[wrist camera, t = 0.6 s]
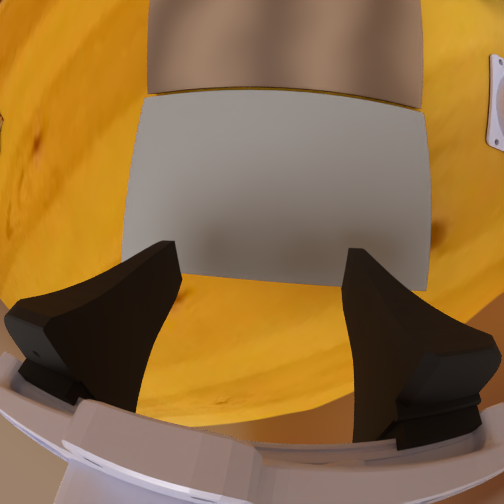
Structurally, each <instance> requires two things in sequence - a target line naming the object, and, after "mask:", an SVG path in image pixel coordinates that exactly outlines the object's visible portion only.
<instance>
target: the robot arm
mask: <svg viewBox="0 0 504 504" xmlns="http://www.w3.org/2000/svg"><path fill="white" fill-rule="evenodd" d="M499 61H500V63H499ZM490 75H491V79H490V107H489V119H488V129H487V137H486V141H487V144H488V145H489V146H492V147H494V148H497V149H499V150H501V151H504V59H503V58H501V57H500V56H498V55H496V54H491V55H490ZM495 140H496V144H495ZM181 282H182V276H181V271H180V266H179V261H178V256H177V250H176V245H175V241H167V240H162V241H159V242H157V243H155V244H153V245H151V246H149V247H148V248H146V249H144V250H142V251H141V252H139V253H137V254H136V255H134V256H132V257H131V258H129V259H127V260H125V261H124V262H122V263H120V264H118V265H116V266H115V267H113V268H111V269H109V270H107V271H106V272H104V273H102V274H100V275H97V276H95V277H93V278H91V279H89V280H86V281H84V282H81V283H79V284H76V285H74V286H71V287H68V288H65V289H62V290H59V291H56V292H52V293H49V294H45V295H41V296H36V297H31V298H25V299H20V300H19V301H18V302H16V304H15V305H14V306H13V307H12V308H11V309H10V310H9V312H8V313H7V314H6V315H5V317H4V322H5V326H6V328H7V330H8V332H9V334H10V336H11V337H12V338H13V340H14V341H15V343H16V345H17V346H18V347H19V349H20V350H21V351H22V353H23V354H24V356H25V357H26V360H25V361H24V362H23V363H22V362H21V361H20V360H19V359H18V358H16V357H15V356H13V355H11V354H9V353H8V352H5V351H4V353H3V354H2V356H1V357H0V413H1V414H2V415H3V416H4V417H5V418H6V419H7V420H9V421H10V422H11V423H12V424H13V425H14V426H16V427H17V428H18V429H20V430H21V431H22V432H24V433H25V434H26V435H28V436H29V437H30V438H32V439H33V440H35V441H36V442H37V443H39V444H40V445H42V446H43V447H45V448H46V449H48V450H49V451H51V452H52V453H54V454H55V455H57V456H59V457H60V458H62V459H63V460H65V461H67V462H68V463H69V465H68V467H67V470H66V472H65V475H64V477H63V479H62V482H61V484H60V487H59V489H58V492H57V495H56V497H55V500H54V503H53V504H431V503H434V502H437V501H440V500H442V499H445V498H448V497H450V496H453V495H456V494H458V493H461V492H463V491H466V490H468V489H470V488H473V487H475V486H477V485H479V484H481V483H483V482H485V481H487V480H489V479H490V478H492V477H494V476H496V475H498V474H500V473H501V472H503V471H504V402H502V403H499V404H496V405H494V406H491V407H488V408H486V409H484V410H482V411H481V412H479V410H478V407H477V405H478V404H480V402H481V398H480V395H479V392H480V391H481V389H482V388H483V387H484V386H485V385H486V384H487V383H488V381H489V380H490V379H491V378H492V377H493V375H494V374H495V372H496V371H497V369H498V367H499V365H500V363H501V357H502V355H501V353H500V351H499V349H498V347H497V345H496V343H495V341H494V339H493V337H492V335H490V334H487V333H485V332H482V331H480V330H477V329H475V328H472V327H470V326H467V325H465V324H463V323H461V322H459V321H457V320H455V319H453V318H451V317H450V316H448V315H446V314H444V313H442V312H441V311H439V310H437V309H436V308H434V307H433V306H431V305H429V304H428V303H426V302H425V301H424V300H422V299H421V298H419V297H418V296H417V295H415V294H414V293H413V292H411V291H410V290H409V289H407V288H406V287H405V286H404V285H403V284H402V283H400V282H399V281H398V280H397V279H396V278H395V277H394V276H392V275H391V274H390V273H389V272H388V271H387V270H386V269H385V268H384V267H383V266H382V265H381V264H380V263H379V262H377V261H376V260H375V259H374V258H373V257H372V256H371V255H370V254H369V253H368V252H367V251H366V250H364V249H363V248H349V249H348V255H347V261H346V266H345V272H344V277H343V283H342V288H341V290H342V302H343V311H344V316H345V320H346V325H347V330H348V335H349V340H350V345H351V350H352V356H353V366H354V394H355V395H354V396H355V404H354V430H353V442H352V443H348V444H322V445H321V444H319V445H304V444H277V443H264V442H253V441H244V440H239V439H237V438H234V437H232V436H227V435H223V434H219V433H215V432H211V431H207V430H202V429H196V428H192V427H187V426H182V425H178V424H173V423H169V422H165V421H161V420H157V419H154V418H150V417H146V416H143V415H139V414H136V413H135V412H136V407H137V401H138V396H139V392H140V388H141V383H142V379H143V376H144V372H145V369H146V365H147V362H148V359H149V356H150V353H151V350H152V347H153V344H154V342H155V340H156V338H157V335H158V333H159V331H160V329H161V327H162V325H163V323H164V321H165V320H166V318H167V316H168V314H169V312H170V310H171V308H172V306H173V304H174V302H175V300H176V297H177V294H178V292H179V289H180V285H181Z"/></svg>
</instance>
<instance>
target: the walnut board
mask: <svg viewBox="0 0 504 504" xmlns="http://www.w3.org/2000/svg"><path fill="white" fill-rule="evenodd" d="M147 87H148V94H157V93H165V92H173V91H183V90H193V89H207V88H228V87H271V88H292V89H306V90H317V91H326V92H334V93H342V94H349V95H355V96H361V97H367V98H373V99H378V100H383V101H387V102H392V103H397V104H401V105H405V106H409V107H413V108H419V109H421V105H422V89H423V31H422V16H421V5H420V0H150V4H149V19H148V44H147Z"/></svg>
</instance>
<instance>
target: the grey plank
mask: <svg viewBox="0 0 504 504" xmlns="http://www.w3.org/2000/svg"><path fill="white" fill-rule="evenodd" d="M162 240H167V241H175V245H176V250H177V256H178V261H179V266H180V271H181V273H186V274H196V275H206V276H216V277H226V278H237V279H248V280H259V281H271V282H284V283H297V284H310V285H324V286H340V287H342V283H343V277H344V272H345V266H346V261H347V255H348V249H349V248H363V249H364V250H366V251H367V252H368V253H369V254H370V255H371V256H372V257H373V258H374V259H375V260H376V261H377V262H379V263H380V264H381V265H382V266H383V267H384V268H385V269H386V270H387V271H388V272H389V273H390V274H391V275H392V276H394V277H395V278H396V279H397V280H398V281H399V282H400V283H402V284H403V285H404V286H405V287H406V288H407V289H409V290H415V291H426V288H427V279H428V270H429V258H430V242H431V177H430V162H429V150H428V141H427V133H426V125H425V118H424V113H421V112H418V111H414V110H410V109H406V108H402V107H397V106H393V105H388V104H384V103H379V102H373V101H368V100H362V99H356V98H350V97H343V96H335V95H327V94H318V93H307V92H294V91H275V90H223V91H203V92H190V93H180V94H170V95H162V96H155V97H148V98H145V99H144V103H143V107H142V112H141V116H140V120H139V125H138V130H137V135H136V140H135V145H134V151H133V156H132V162H131V169H130V175H129V183H128V190H127V198H126V207H125V217H124V228H123V242H122V261H121V263H122V262H124V261H125V260H127V259H129V258H131V257H132V256H134V255H136V254H137V253H139V252H141V251H142V250H144V249H146V248H148V247H149V246H151V245H153V244H155V243H157V242H159V241H162Z"/></svg>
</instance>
